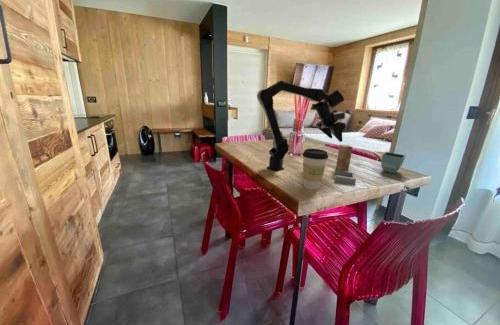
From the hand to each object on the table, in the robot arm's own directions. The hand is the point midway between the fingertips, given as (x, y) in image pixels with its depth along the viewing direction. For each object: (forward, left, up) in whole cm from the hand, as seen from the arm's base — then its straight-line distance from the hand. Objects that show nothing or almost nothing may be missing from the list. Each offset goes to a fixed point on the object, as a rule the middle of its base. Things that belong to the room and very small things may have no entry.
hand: (336, 139), depth 111 cm
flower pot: (+20, -21, -15) cm, 32 cm away
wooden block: (-1, -6, -15) cm, 16 cm away
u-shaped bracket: (-12, -13, -15) cm, 23 cm away
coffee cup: (-31, -10, -15) cm, 36 cm away
